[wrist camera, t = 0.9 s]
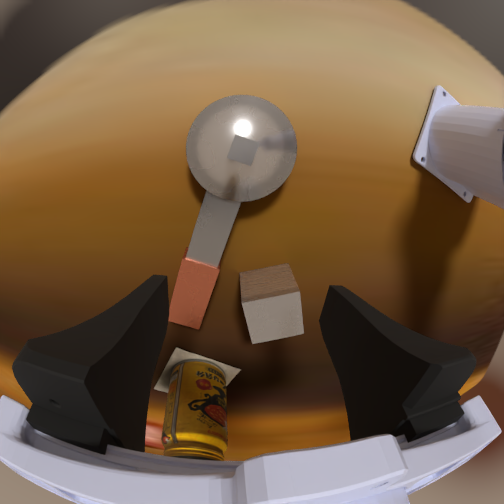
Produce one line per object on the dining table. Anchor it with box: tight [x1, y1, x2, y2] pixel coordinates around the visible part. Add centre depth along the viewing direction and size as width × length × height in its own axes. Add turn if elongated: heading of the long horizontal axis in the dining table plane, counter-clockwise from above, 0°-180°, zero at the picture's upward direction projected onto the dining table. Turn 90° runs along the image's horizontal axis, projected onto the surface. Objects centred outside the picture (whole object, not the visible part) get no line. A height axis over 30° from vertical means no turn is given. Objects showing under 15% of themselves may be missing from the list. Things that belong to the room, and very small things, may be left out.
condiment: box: [154, 347, 241, 461], centre depth 22 cm, size 7×8×12 cm
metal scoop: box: [168, 95, 297, 329], centre depth 18 cm, size 18×7×4 cm, turn 159°
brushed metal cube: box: [240, 263, 304, 344], centre depth 21 cm, size 4×4×4 cm
